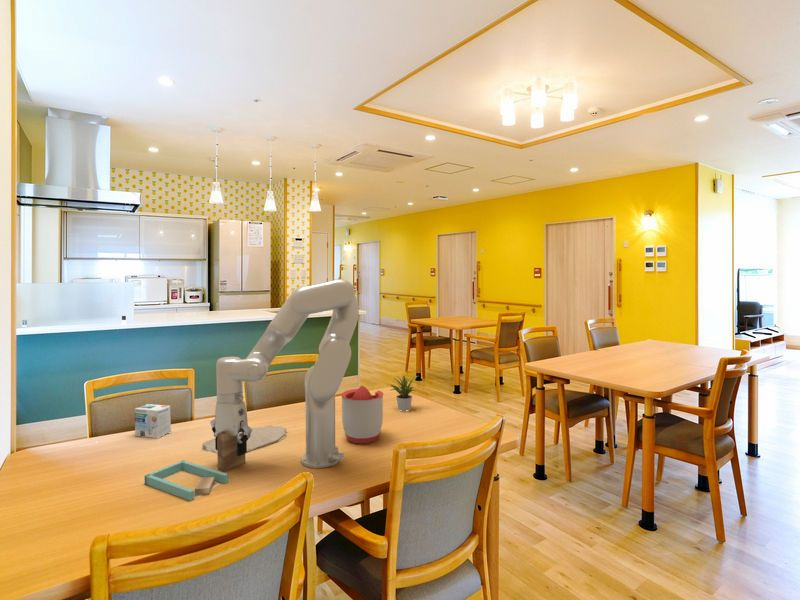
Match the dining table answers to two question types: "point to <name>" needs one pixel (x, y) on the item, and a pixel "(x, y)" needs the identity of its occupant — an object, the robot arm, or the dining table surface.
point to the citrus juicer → (362, 415)
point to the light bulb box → (152, 420)
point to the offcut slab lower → (211, 489)
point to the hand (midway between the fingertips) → (231, 451)
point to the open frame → (178, 490)
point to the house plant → (403, 393)
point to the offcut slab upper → (204, 486)
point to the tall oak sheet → (228, 452)
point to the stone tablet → (256, 438)
